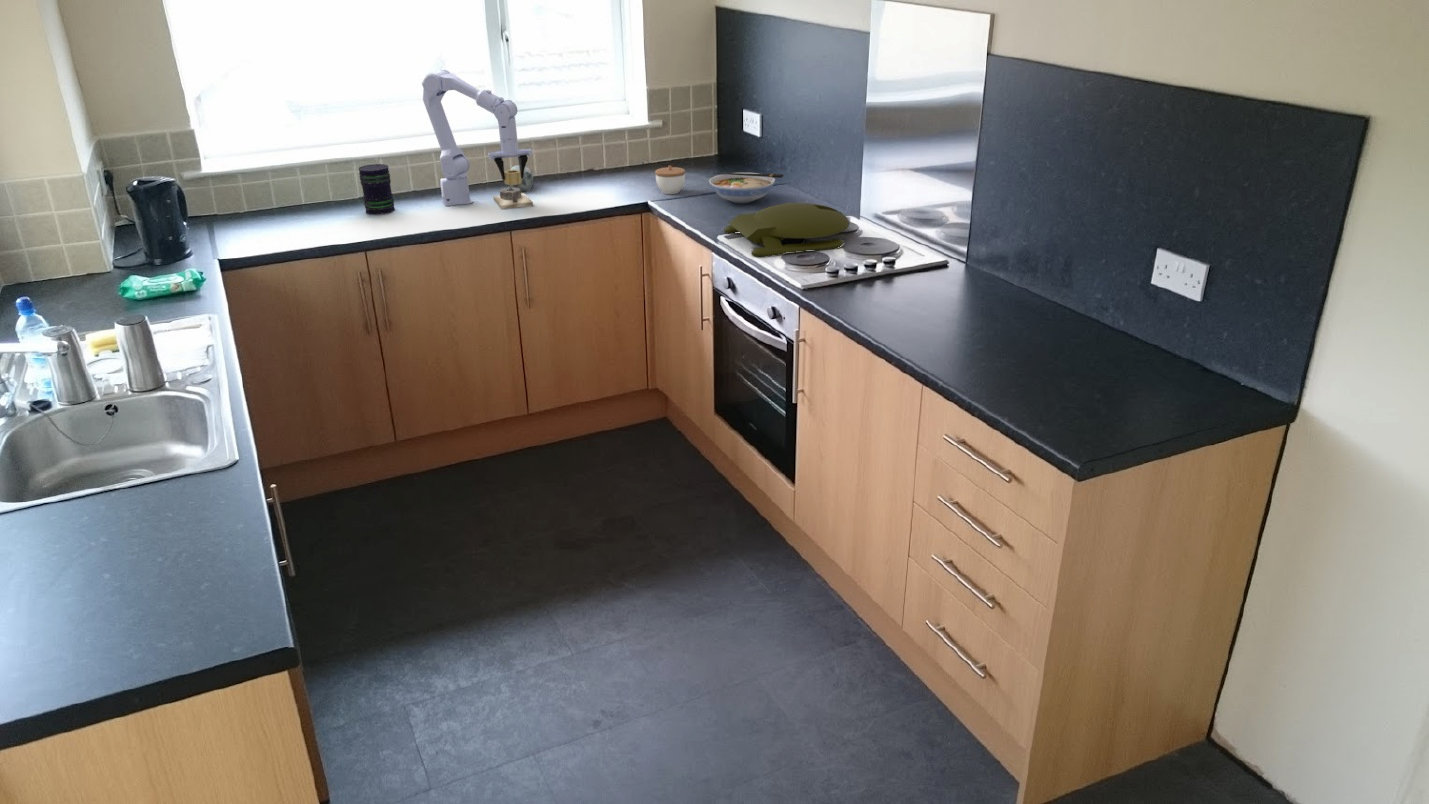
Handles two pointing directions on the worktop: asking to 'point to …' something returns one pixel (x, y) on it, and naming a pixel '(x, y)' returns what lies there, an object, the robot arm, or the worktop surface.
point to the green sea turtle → (790, 227)
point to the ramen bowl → (742, 186)
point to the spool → (524, 179)
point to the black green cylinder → (376, 189)
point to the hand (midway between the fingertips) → (512, 178)
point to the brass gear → (513, 177)
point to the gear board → (510, 202)
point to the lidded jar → (670, 179)
